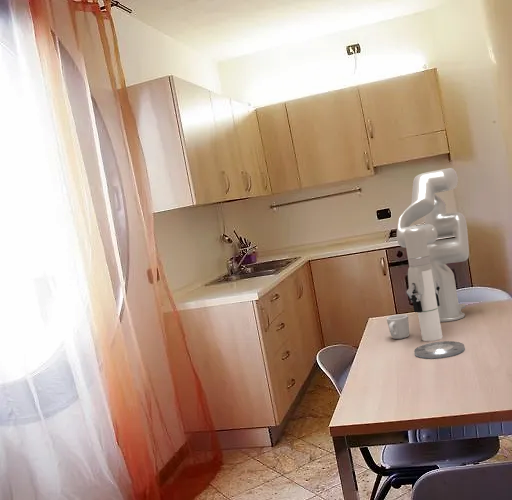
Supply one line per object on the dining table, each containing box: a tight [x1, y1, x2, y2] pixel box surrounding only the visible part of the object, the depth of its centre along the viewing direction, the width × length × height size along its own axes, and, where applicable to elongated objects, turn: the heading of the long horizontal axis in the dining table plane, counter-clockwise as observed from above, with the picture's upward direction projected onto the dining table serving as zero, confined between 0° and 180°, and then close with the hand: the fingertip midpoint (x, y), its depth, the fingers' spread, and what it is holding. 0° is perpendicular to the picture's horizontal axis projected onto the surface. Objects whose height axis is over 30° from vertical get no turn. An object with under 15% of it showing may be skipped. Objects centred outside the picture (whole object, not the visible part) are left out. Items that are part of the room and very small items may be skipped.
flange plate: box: [413, 340, 466, 360], centre depth 205 cm, size 16×16×1 cm
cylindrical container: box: [416, 269, 444, 342], centre depth 222 cm, size 7×7×25 cm
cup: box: [386, 313, 410, 340], centre depth 231 cm, size 11×8×8 cm
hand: (427, 309), depth 222 cm, fingers open, 9 cm apart
